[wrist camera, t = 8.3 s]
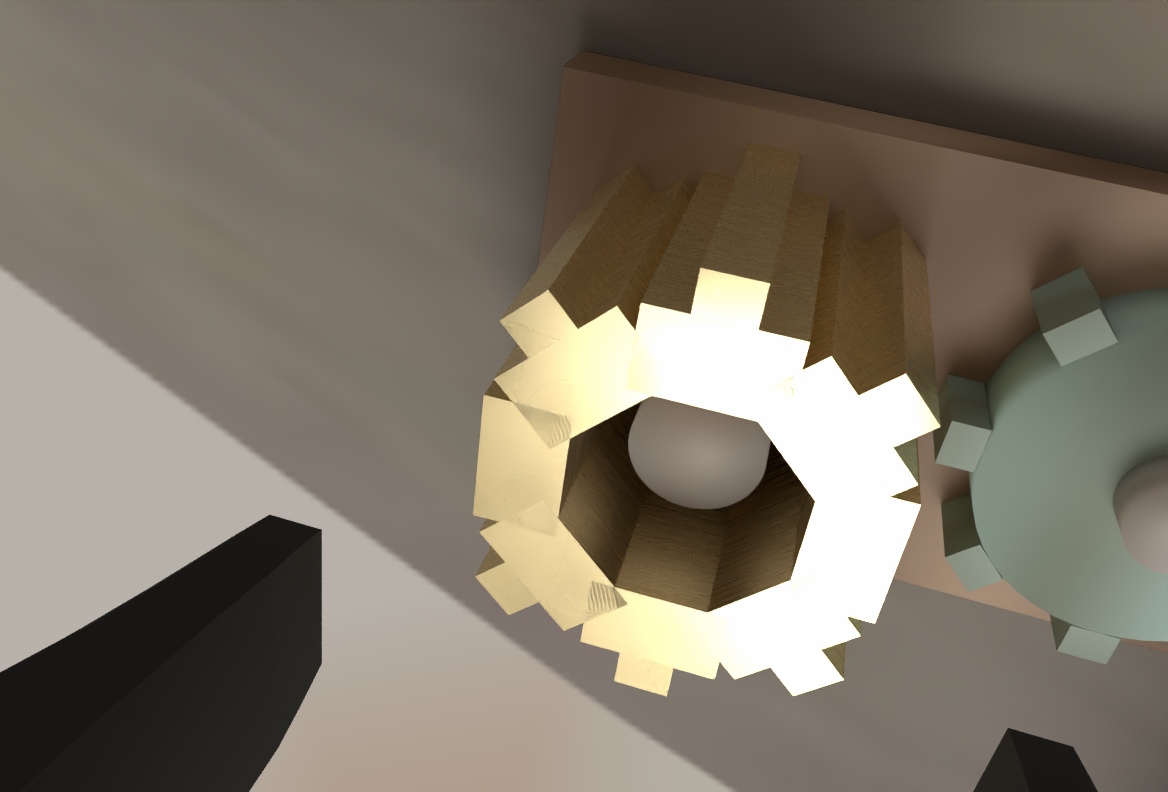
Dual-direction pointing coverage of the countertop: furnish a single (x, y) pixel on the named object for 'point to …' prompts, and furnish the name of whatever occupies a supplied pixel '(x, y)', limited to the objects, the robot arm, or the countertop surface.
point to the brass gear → (720, 383)
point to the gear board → (945, 335)
